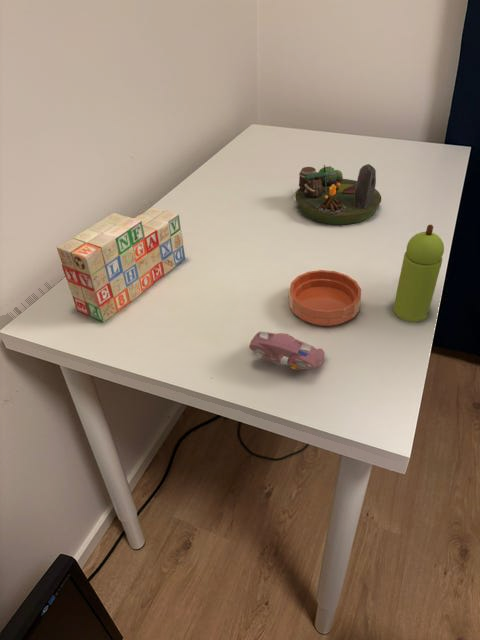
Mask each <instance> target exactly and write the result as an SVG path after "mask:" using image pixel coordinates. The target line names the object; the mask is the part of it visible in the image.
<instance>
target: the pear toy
mask: <svg viewBox="0 0 480 640" xmlns="http://www.w3.org/2000/svg"><path fill="white" fill-rule="evenodd" d="M433 230H434V225H433V224H428V225H427V226H426V230H425V231H421V232H418V233H416V234H414V235H413V236H412V237H411V238H410V239H409V240H408V243H407V245H406V249H405V250H406V251H405V252H404V254H403V259H402V264H401V269H400V274H399V279H398V283H397V289H396V294H395V297H394V303H393V307H392V308H393V313H394V314H395V316H396V317H398V318H399V319H400V320H403V321H407V322H415V323H416V322H417V323H418V322H421V321H424V320H426V318H427V317H428V315H429V312H430V306H431V304H432V300H433V296H434V293H435V289H436V286H437V282H438V278H439V274H440V271H441V268H442V264H443V256H444V253H445V244H444V242H443V240H442V238H441V237H440V236H439V235H438V234H437V233H434V232H433Z"/></svg>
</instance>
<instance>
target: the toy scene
mask: <svg viewBox="0 0 480 640" xmlns="http://www.w3.org/2000/svg"><path fill="white" fill-rule="evenodd" d="M376 171H377V170H376V168H374V166H372V165H371V164H369V163H367V164H365V165H362V166H361V168H360V169H359V171H358V175H357V180H354V179H350V178H349V179H348V178H344V177H343V173H342V171H341V170H339V169H335V168H334V167H332V166H331V165H328V166H326V164H323V167H322V168H320V169H319V171H317V169H316V168H315V167H313V166H304V167H302V168H301V170H300V172H299V174H298V176H299V177H298V178H299V179H298V189H297V190H296V191H295V194H294V198H295V201H296V202H297V208H298V210H299V211H300V213H301V214H302V215H304V216H305V217H307V218H309V219H310V220H313V221H315V222H319V223H322V224H328V225H350V224H357V223H361V222H364V221H365V220H368V219H370V218H371V217H372V216H374V215H375V214H376V212H377V209H378V208H379V207H378V206H379V205H380V204H381V203H382V195H381V193H380V192H379V191H378V189H376V185H377V176H376V175H377V172H376Z"/></svg>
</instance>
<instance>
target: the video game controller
mask: <svg viewBox="0 0 480 640" xmlns="http://www.w3.org/2000/svg"><path fill="white" fill-rule="evenodd" d="M248 347H249V350H251V351H253V352H254V354H255V356H256V357H258V358H263V357H264V358H265V359H267V360H268V361H270V362H273V363H276V364H280V363H281V361H282V360H283V357H285V358H287V360H286V365H287V366H288V367H290V368H291V369H292V370H304V369H307V370H313V369H315V368H318V367H320V366H321V365H322V364H323V362H324V359H325V351H324V349H323V348H316V347H315V346H313V345H311V344H309V343H306V342H304V341H302V340H299V339H297V338H295V337H294V336H292V335H290V334H288V333H282V332H280V333H276V332H275V333H273V332H268V331H264V330H263V331H258V332H256V334H255V335H254V336H253V337H252V339H251V340H250V343H249V345H248Z"/></svg>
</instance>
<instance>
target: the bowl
mask: <svg viewBox="0 0 480 640" xmlns="http://www.w3.org/2000/svg"><path fill="white" fill-rule="evenodd" d="M288 291H289V292H288V293H289V294H288V305H289V307H290V309H291V311H292V313H293V315H296V316H297V317H298V318H299V319H300V320H302V321H305V322H306V323H309V324H312V325H314V326H315V325H316V326H322V327H323V326H324V327H328V326H329V327H331V326H337V325H340V324H344V323H346V322H348V321H350V320H352V319H354V318H355V317H356V315H357V314H358V313H359V311H360V306H361V301H362V288H361V286H360V285H359V283H358V282H357V281H356V280H355V279H353V278H352V277H350V276H349V275H348V274H344V273H341V272H339V271H335V270H325V269H319V270H310V271H307V272H304V273H302V274H299V275H297V277H295V278H294V279H293V280H292V281H291V283H290V285H289V290H288Z"/></svg>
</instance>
